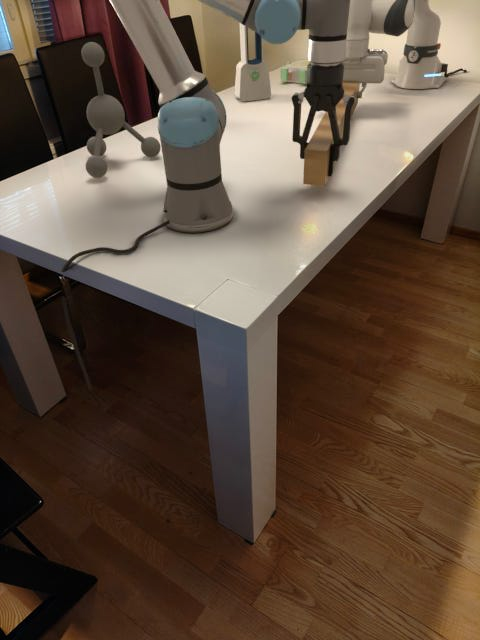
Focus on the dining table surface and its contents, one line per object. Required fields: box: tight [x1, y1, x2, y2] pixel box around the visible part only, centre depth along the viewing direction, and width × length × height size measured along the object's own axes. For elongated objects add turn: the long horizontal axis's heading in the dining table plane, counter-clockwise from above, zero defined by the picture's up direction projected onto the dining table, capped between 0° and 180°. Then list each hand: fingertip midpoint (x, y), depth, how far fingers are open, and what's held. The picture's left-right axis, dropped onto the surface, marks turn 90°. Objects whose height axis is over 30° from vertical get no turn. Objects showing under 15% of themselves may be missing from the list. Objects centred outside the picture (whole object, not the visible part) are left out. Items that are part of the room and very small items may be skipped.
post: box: [302, 82, 361, 187], centre depth 134 cm, size 71×5×8 cm, turn 163°
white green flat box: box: [280, 58, 310, 85], centre depth 206 cm, size 26×6×20 cm
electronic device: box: [234, 22, 272, 103], centre depth 177 cm, size 12×8×30 cm, turn 105°
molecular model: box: [80, 41, 161, 179], centre depth 128 cm, size 24×22×30 cm
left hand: (318, 173), depth 114 cm, fingers closed on post, 5 cm apart
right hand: (349, 97), depth 157 cm, fingers closed on post, 5 cm apart
